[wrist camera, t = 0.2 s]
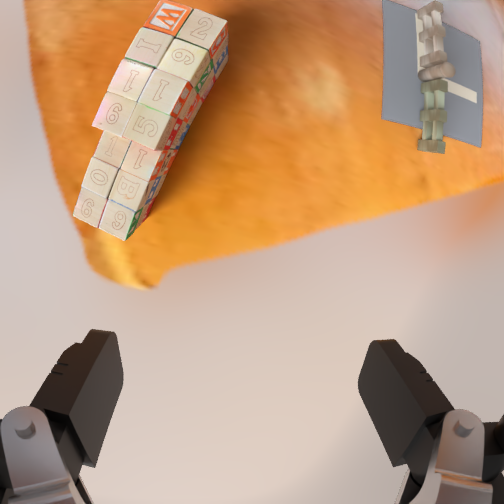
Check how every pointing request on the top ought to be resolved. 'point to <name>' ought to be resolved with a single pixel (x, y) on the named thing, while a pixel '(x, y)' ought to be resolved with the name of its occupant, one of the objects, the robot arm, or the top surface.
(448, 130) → the card
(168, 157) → the stack of blocks
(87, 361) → the robot arm
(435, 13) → the fence base
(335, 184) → the top surface
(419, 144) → the hinged panel
